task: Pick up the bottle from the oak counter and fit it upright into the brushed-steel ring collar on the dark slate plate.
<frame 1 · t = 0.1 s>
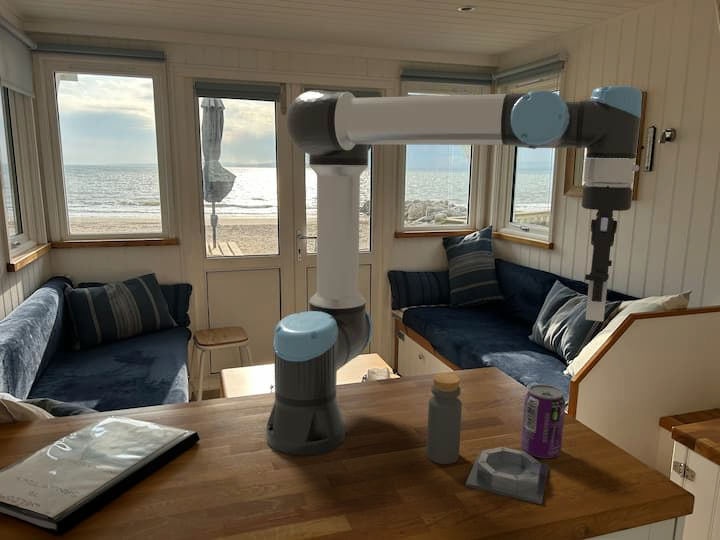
hand: (595, 310, 96), 28 cm above the kitchen counter, fingers open, 13 cm apart
beverage can: (540, 452, 104), on the kitchen counter
bottle: (442, 456, 102), on the kitchen counter
ring seat: (508, 476, 96), on the kitchen counter
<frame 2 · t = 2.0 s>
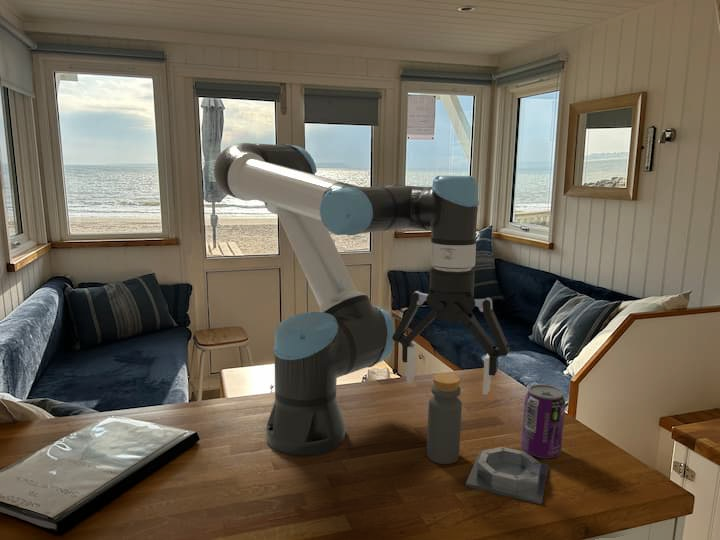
hand: (447, 385, 99), 14 cm above the kitchen counter, fingers open, 13 cm apart
nothing on the kitchen counter moved.
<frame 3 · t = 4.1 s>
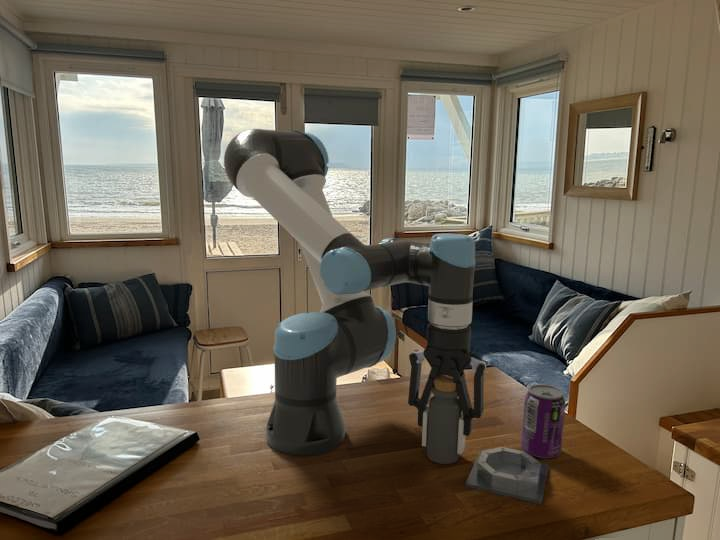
hand: (443, 446, 102), 2 cm above the kitchen counter, fingers closed on bottle, 6 cm apart
bottle: (442, 456, 102), on the kitchen counter, touching gripper
everything else where it was.
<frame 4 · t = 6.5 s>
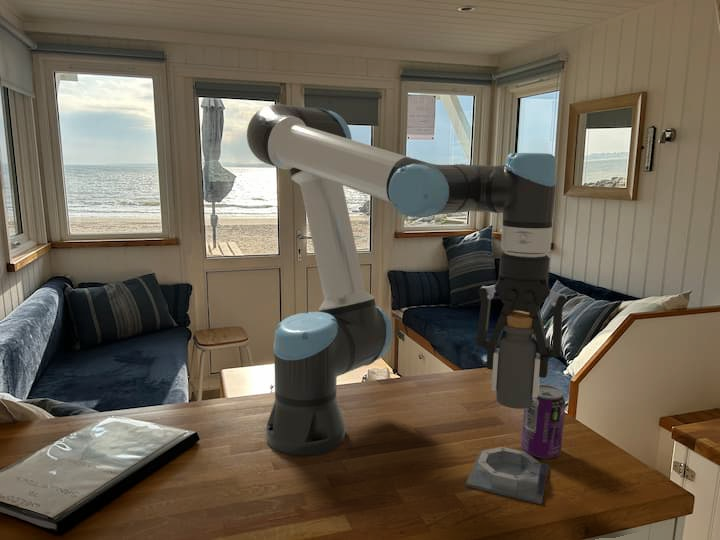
hand: (514, 391, 93), 16 cm above the kitchen counter, fingers closed on bottle, 6 cm apart
bottle: (514, 402, 93), point 13 cm above the kitchen counter, touching gripper
everything else where it was.
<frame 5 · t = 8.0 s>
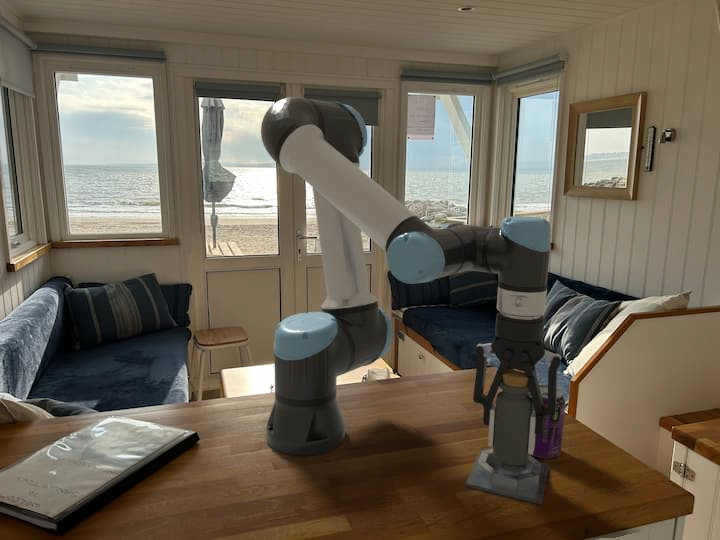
hand: (511, 446, 95), 6 cm above the kitchen counter, fingers closed on bottle, 6 cm apart
bottle: (510, 457, 95), point 4 cm above the kitchen counter, touching gripper
everything else where it was.
when the fingers open (4 cm above the kitchen counter, at t = 9.1 s): bottle drops 1 cm, resting on ring seat.
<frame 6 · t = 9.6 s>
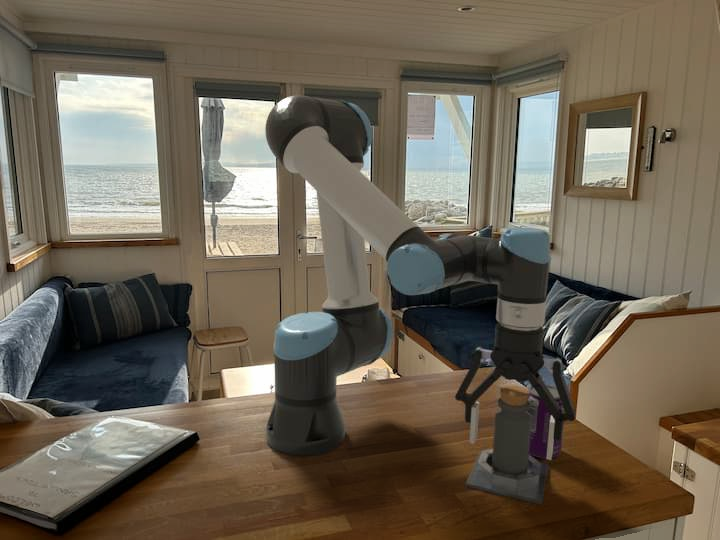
hand: (510, 447, 95), 5 cm above the kitchen counter, fingers open, 12 cm apart
bottle: (509, 474, 96), resting on ring seat
everything else where it was.
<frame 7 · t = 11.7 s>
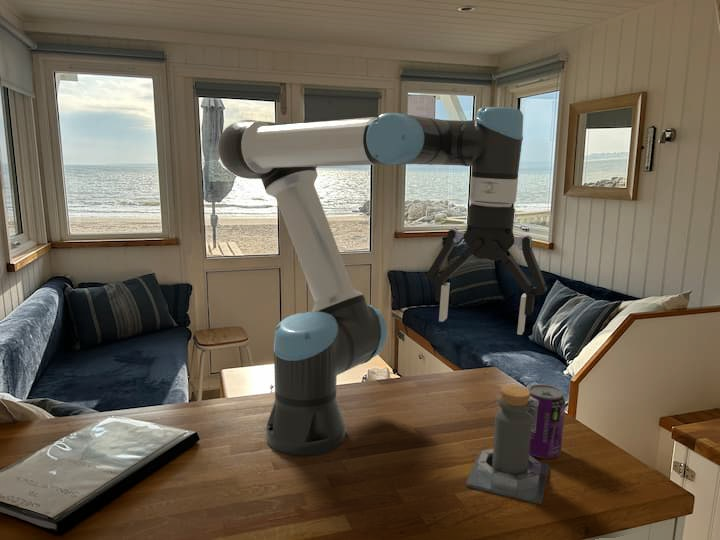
hand: (480, 326, 98), 24 cm above the kitchen counter, fingers open, 13 cm apart
nothing on the kitchen counter moved.
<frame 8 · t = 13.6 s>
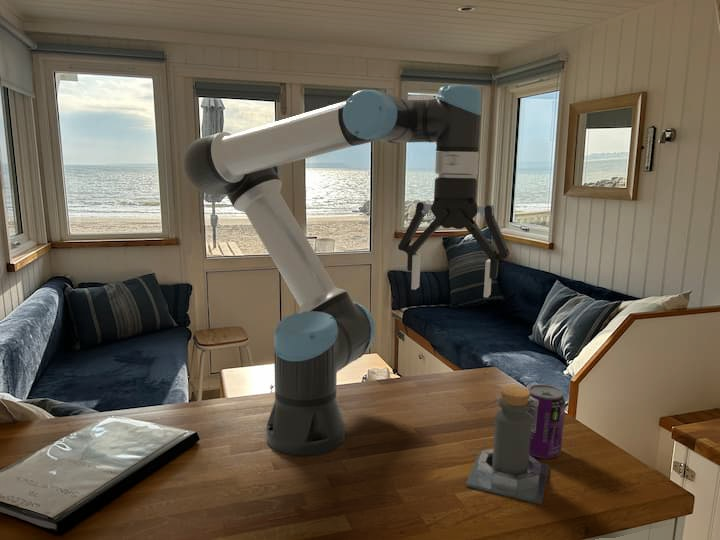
hand: (450, 292, 105), 29 cm above the kitchen counter, fingers open, 13 cm apart
nothing on the kitchen counter moved.
at the end: bottle 0.2 cm from the ring seat (horizontally); bottle tilted 0°; bottle resting on ring seat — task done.
